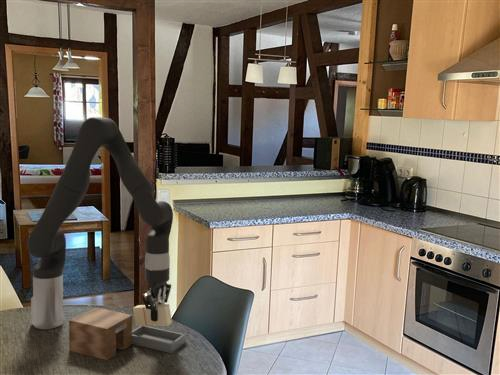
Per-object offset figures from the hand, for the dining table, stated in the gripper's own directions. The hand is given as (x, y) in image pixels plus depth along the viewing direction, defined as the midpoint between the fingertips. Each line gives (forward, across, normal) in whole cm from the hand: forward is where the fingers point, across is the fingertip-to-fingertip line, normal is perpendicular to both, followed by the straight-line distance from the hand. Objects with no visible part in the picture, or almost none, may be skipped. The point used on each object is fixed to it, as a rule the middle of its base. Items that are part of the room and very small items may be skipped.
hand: (156, 318), depth 154 cm
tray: (+8, 0, 0) cm, 8 cm away
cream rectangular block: (+2, 0, -1) cm, 2 cm away
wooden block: (+8, +10, -13) cm, 19 cm away
